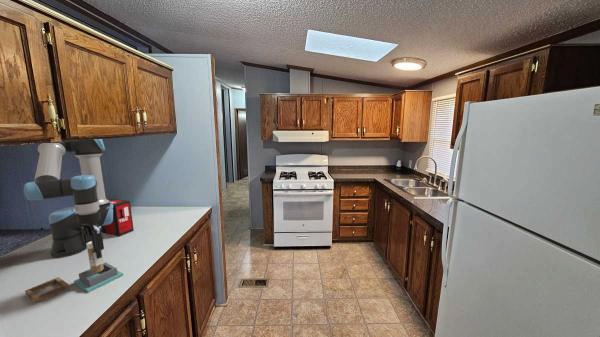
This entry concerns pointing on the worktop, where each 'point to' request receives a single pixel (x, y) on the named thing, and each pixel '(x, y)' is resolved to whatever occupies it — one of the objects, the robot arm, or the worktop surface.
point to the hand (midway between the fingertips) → (96, 262)
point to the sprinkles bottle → (91, 259)
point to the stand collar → (36, 299)
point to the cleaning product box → (119, 219)
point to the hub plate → (97, 278)
